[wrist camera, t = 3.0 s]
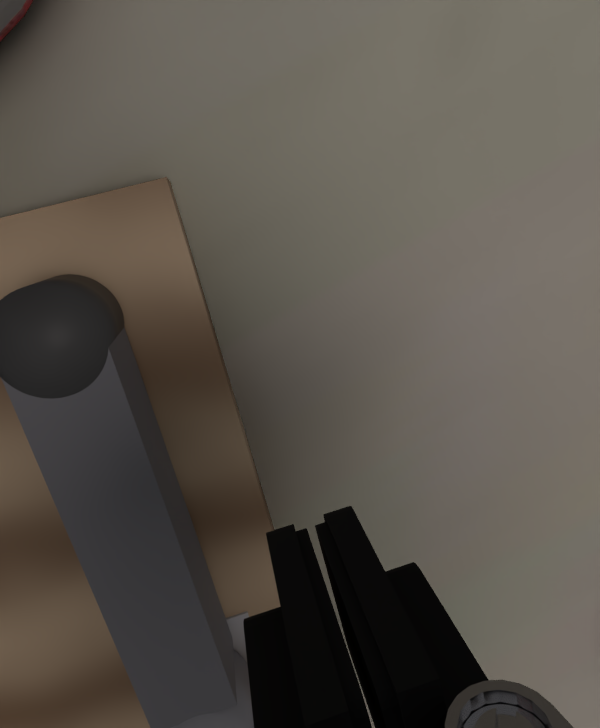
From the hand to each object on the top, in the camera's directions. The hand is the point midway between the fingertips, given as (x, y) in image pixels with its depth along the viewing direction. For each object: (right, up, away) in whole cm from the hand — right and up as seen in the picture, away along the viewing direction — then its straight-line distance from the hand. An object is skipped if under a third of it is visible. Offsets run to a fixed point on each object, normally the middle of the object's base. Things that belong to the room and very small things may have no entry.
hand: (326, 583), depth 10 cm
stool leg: (-6, -1, +9) cm, 10 cm away
